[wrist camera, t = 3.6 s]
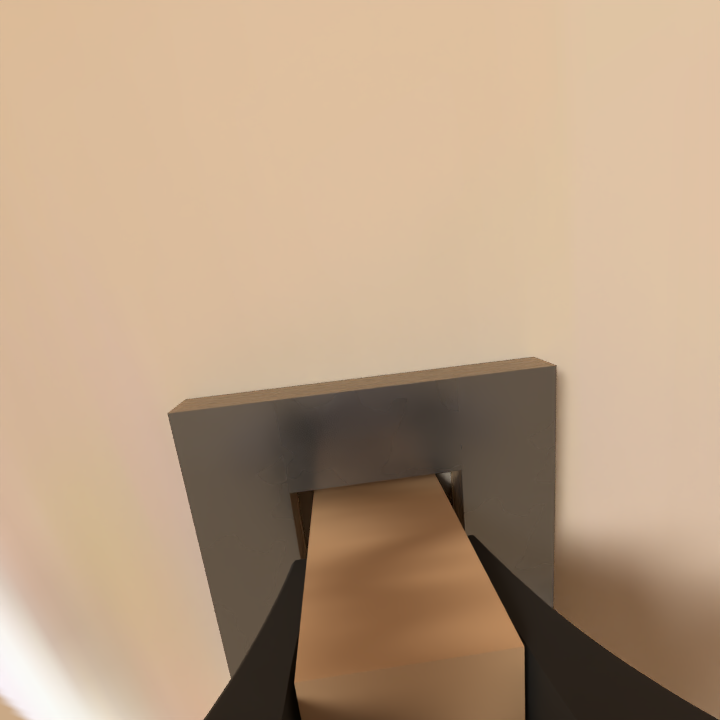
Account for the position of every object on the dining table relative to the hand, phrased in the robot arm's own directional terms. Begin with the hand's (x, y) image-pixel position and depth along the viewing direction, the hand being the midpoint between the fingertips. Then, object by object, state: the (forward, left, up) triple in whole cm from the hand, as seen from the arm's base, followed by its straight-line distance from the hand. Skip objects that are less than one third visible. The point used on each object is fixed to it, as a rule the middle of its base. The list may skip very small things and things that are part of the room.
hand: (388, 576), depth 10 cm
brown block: (0, 0, -2) cm, 2 cm away
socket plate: (0, 0, -2) cm, 2 cm away
